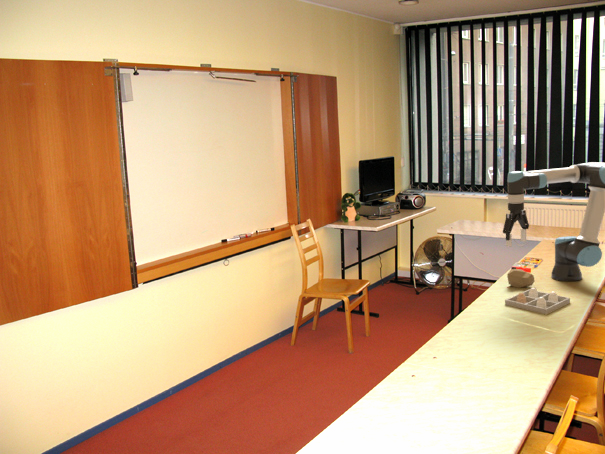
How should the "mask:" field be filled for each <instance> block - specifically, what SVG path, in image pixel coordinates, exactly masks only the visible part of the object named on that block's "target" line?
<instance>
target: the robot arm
mask: <svg viewBox="0 0 605 454" xmlns="http://www.w3.org/2000/svg"><path fill="white" fill-rule="evenodd" d="M506 182H507V202H508V203H507V209H508V211H509V213H506V214H505V220H504V225H503V228H502V229H503V230H502V234H505V246H506V247H511V248H512V247H513V244H512V243H513V242H512V239H513V237H512V236H513V235H512V230H513V229H514V225H515V223H517V222H518V224H519V226H520V227H521V228H520V242H525V243H526V242H527V230H529V228H530V223H529V221H528V217H527V211H526V210H525V191H527V190H537V189H543V188H545V187H546V186H547V184H548V185H549V184H557V183H566V182H570V183H572V184H575V183H579V184H580V183H583V184H588V186H587V188H588V189H589V190H590V192H589V195H588V196H589V197H588V200H587V204H586V208H585V211H584V216H583V218H582V219H583V220H582V223H581V227H580V231H579V235H577V236H576V235H575V236H570V235H569V236H568V235H567V236H559V237H557V238H555V239H554V265H553V268H552V271H551V278H552V279H554V280H556V281H561V282H577V281H580V280H582V278H583V274H582V271H581V267H586V268H587V267H588V268H590V267H594V266H595V265H597V264H598V263H599V262H600V261H601V259H602V257H603V251H602V249H601V248H600V241H599V240H598V239H599V235H600V231H601V227H602V222H603V218H604V216H605V162H600V161H599V162H596V161H591V162H590V161H589V162H584V163H578V164H572V165H570V166H569V167H568V166H567V167H559V168H549V169H539V170H528V171H520V170H516V171H509V172H508V173H507V181H506ZM580 266H581V267H580Z"/></svg>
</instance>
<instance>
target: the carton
mask: <svg viewBox="0 0 605 454" xmlns="http://www.w3.org/2000/svg"><path fill="white" fill-rule="evenodd" d="M530 289H531V288H530ZM530 289H527V290H525V291H522V292H521V293H524V295H525V297H526V304H523V303H519V302H517V296H518V294H519V293H518V294H515V295H513V296H511V297H509V298H506V299H505V300H504V305H506V306H509V307H514V308H518V309H522V310H527V311H530V312H534V313H538V314H542V315H548V314H550V313H552V312H554V311H556V310H559V309H560V308H562V307H563V308H564V306H567V305H569V304H570V303H571V298H570V297H567V296H562V295H558V294H557V296H558V303H555V302H550V301H548V296H549V294H550V292H549V293H547V292H544V291H539V290H537V292H538V298H539V297H543V298H544V299H545V301H546V309H544V308H540V307H537V300H538V298H532V297H529V291H530Z"/></svg>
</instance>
